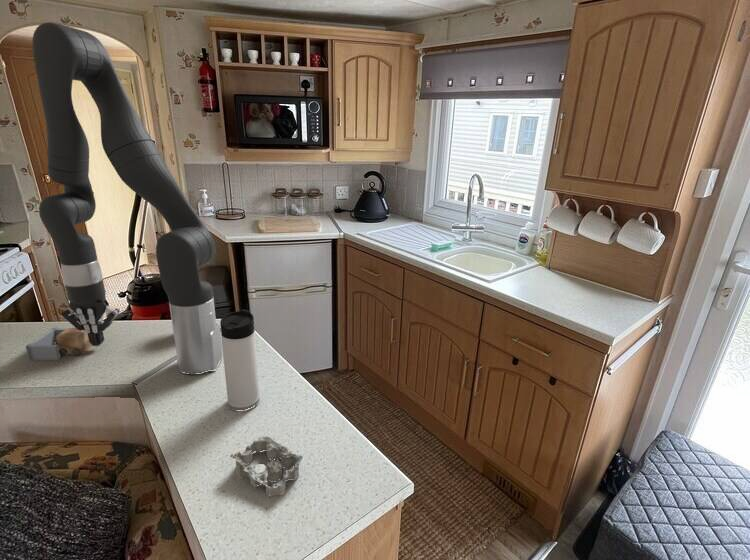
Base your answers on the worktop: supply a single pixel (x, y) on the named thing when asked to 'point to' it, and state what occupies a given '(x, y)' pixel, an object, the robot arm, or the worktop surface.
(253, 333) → the travel mug
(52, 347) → the bay
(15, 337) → the worktop surface
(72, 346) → the small wooden block
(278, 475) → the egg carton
